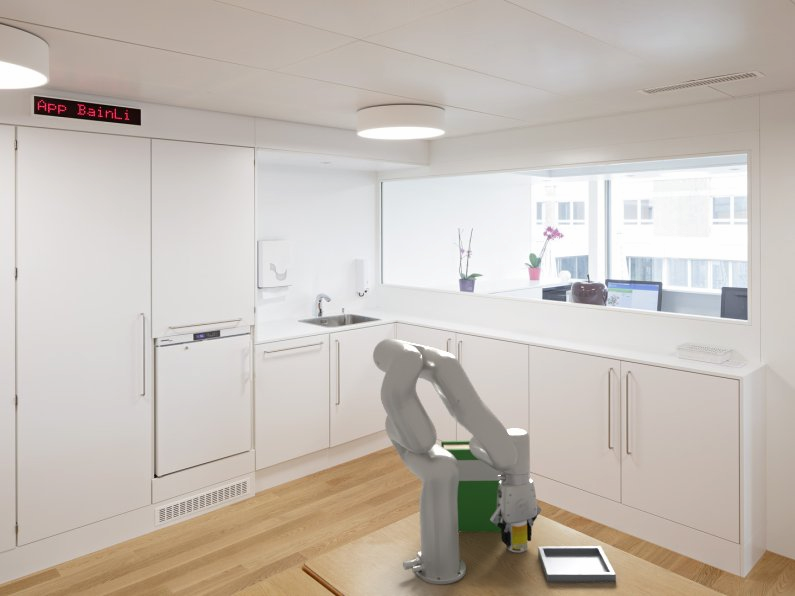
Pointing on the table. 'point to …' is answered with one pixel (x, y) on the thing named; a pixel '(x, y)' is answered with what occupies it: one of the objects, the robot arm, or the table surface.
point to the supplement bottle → (518, 536)
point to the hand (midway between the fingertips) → (516, 540)
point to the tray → (576, 564)
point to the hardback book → (474, 490)
